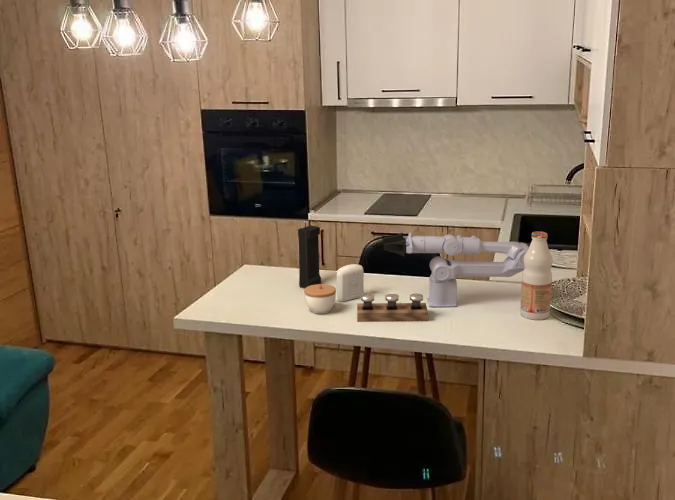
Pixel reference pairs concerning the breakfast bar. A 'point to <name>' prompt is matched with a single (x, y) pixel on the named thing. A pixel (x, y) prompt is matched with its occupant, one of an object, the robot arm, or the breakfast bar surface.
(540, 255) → the fruit juice
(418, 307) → the knob
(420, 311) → the bar
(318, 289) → the lidded jar
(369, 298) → the knob
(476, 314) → the breakfast bar surface
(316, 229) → the portable radio
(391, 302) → the knob middle
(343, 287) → the photo printer
